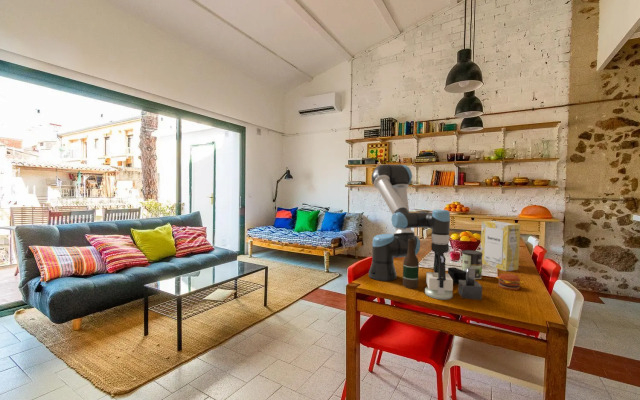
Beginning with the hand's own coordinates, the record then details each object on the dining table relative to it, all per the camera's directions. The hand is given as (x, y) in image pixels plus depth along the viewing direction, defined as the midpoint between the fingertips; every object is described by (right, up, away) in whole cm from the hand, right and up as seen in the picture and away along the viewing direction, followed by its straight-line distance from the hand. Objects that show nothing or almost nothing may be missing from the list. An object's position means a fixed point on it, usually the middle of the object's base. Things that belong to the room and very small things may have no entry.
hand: (438, 289), depth 138 cm
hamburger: (+40, -2, +12) cm, 42 cm away
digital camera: (+16, -2, +17) cm, 24 cm away
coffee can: (+30, -1, +28) cm, 41 cm away
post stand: (+14, -2, -1) cm, 14 cm away
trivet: (0, -2, 0) cm, 2 cm away
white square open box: (0, +2, 0) cm, 2 cm away
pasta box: (+58, 0, +50) cm, 76 cm away
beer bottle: (-10, -2, +11) cm, 15 cm away
